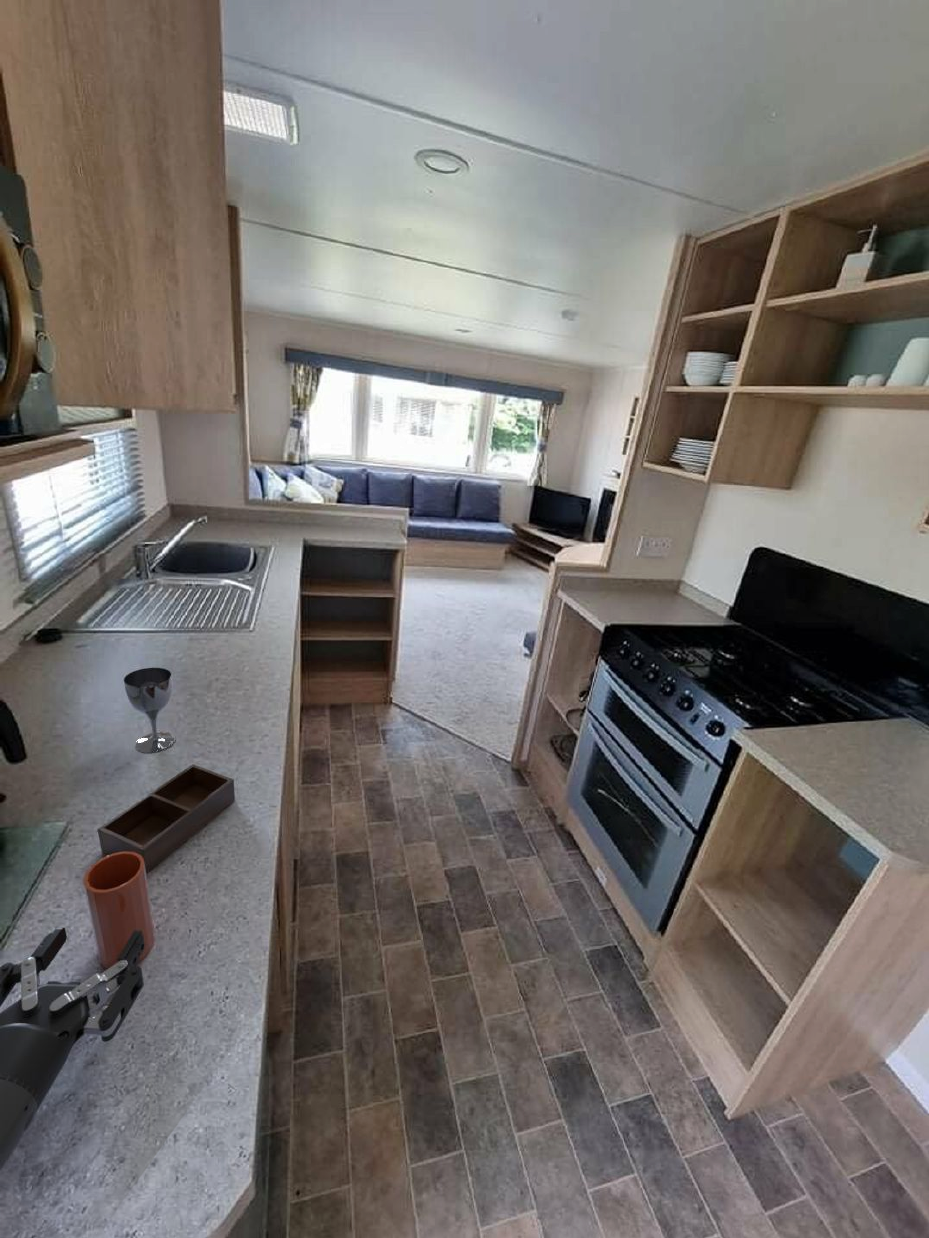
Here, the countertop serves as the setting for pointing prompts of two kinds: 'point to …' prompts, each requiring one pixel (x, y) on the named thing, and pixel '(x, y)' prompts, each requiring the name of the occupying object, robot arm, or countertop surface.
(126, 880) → the tumbler
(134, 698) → the wine glass
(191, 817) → the caddy
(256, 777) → the countertop surface
